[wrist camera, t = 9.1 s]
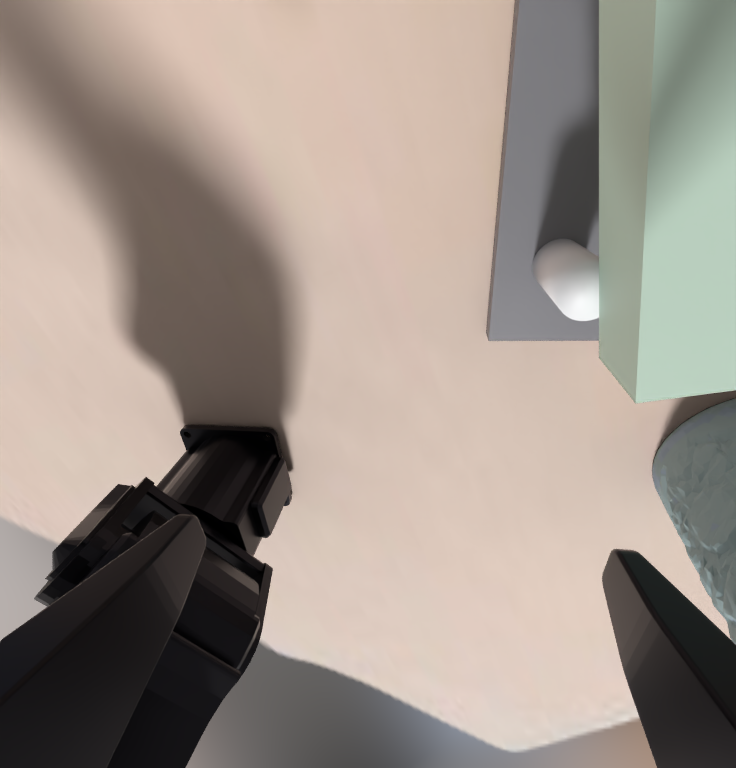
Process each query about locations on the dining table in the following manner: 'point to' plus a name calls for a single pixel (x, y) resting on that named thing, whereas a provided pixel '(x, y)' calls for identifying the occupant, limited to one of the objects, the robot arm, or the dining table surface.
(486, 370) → the dining table surface
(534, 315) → the peg stand
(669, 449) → the teal cylinder
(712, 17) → the plank
